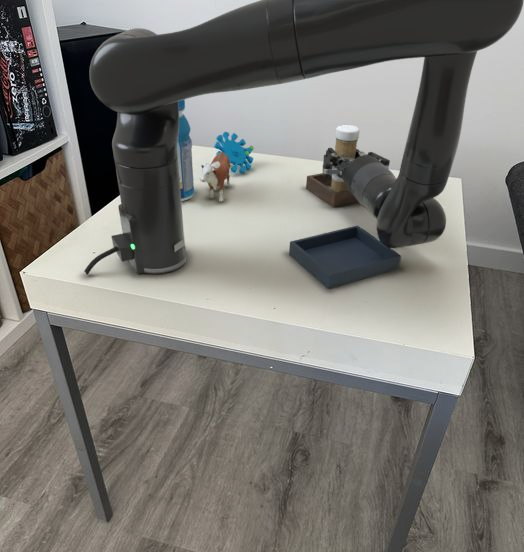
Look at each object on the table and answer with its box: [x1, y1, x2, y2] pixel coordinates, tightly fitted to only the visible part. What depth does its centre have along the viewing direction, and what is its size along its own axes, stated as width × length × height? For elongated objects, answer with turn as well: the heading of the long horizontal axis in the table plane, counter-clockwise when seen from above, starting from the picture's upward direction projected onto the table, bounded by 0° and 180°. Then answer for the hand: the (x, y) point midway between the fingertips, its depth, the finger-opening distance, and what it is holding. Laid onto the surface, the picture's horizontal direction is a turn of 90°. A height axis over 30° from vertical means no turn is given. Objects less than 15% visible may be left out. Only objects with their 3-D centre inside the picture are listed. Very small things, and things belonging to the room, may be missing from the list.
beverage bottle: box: [177, 99, 195, 202], centre depth 102 cm, size 8×8×20 cm
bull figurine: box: [199, 151, 231, 203], centre depth 106 cm, size 4×13×8 cm, turn 168°
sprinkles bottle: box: [330, 124, 360, 192], centre depth 107 cm, size 5×5×13 cm
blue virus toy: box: [213, 131, 255, 174], centre depth 120 cm, size 11×6×10 cm
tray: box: [288, 225, 402, 290], centre depth 88 cm, size 14×12×2 cm
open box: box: [305, 172, 359, 208], centre depth 110 cm, size 11×11×3 cm
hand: (340, 152), depth 108 cm, fingers closed on sprinkles bottle, 4 cm apart
